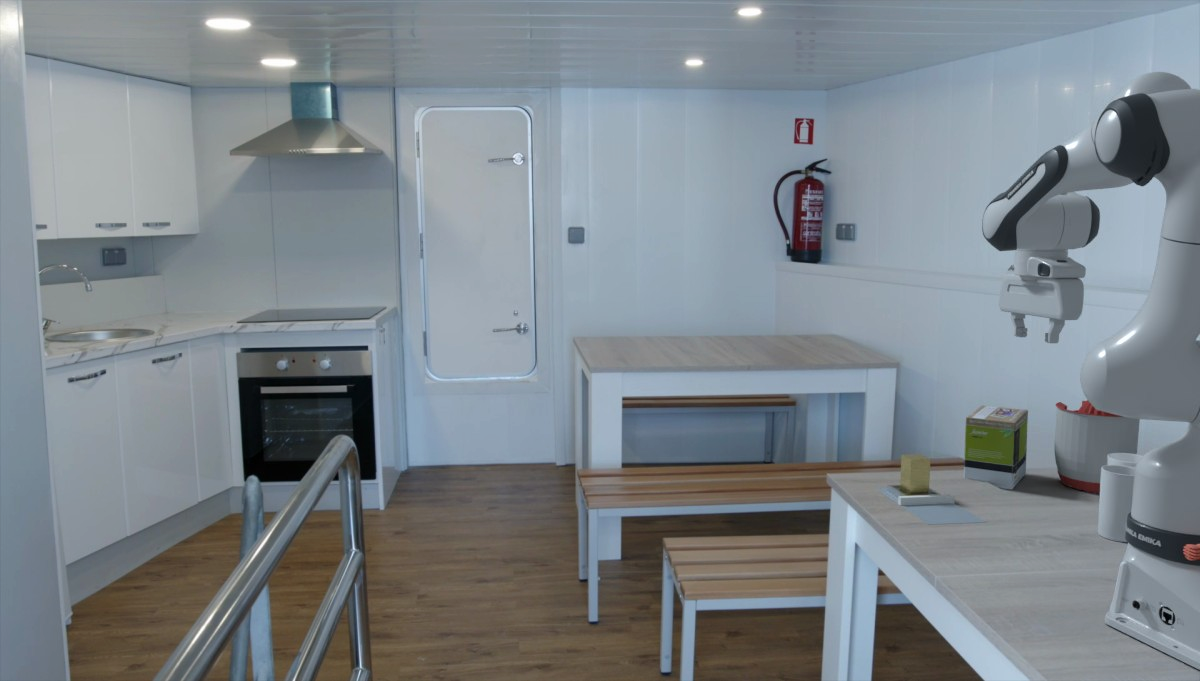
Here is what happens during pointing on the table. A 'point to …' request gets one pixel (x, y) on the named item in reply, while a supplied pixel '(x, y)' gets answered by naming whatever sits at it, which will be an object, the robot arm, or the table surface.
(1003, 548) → the table surface
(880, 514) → the table surface
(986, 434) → the tea box
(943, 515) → the plate
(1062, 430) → the citrus juicer
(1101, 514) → the mug
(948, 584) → the table surface
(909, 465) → the block
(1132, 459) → the white cup
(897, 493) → the frame
